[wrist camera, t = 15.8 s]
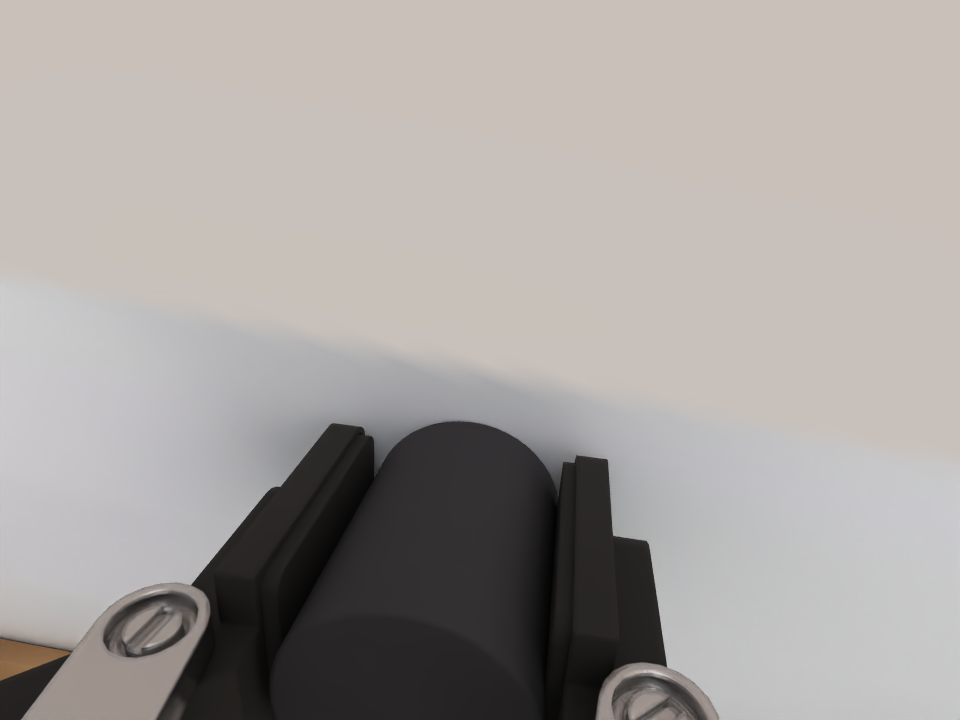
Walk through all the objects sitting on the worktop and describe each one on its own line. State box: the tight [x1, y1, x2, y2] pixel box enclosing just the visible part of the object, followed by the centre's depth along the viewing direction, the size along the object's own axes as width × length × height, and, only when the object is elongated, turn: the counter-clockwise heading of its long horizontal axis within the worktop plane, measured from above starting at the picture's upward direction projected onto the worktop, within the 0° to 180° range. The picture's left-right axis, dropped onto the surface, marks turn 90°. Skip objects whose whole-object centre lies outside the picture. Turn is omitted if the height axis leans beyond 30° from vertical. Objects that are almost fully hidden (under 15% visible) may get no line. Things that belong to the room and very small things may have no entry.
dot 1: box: [269, 421, 558, 720], centre depth 9 cm, size 3×3×4 cm
